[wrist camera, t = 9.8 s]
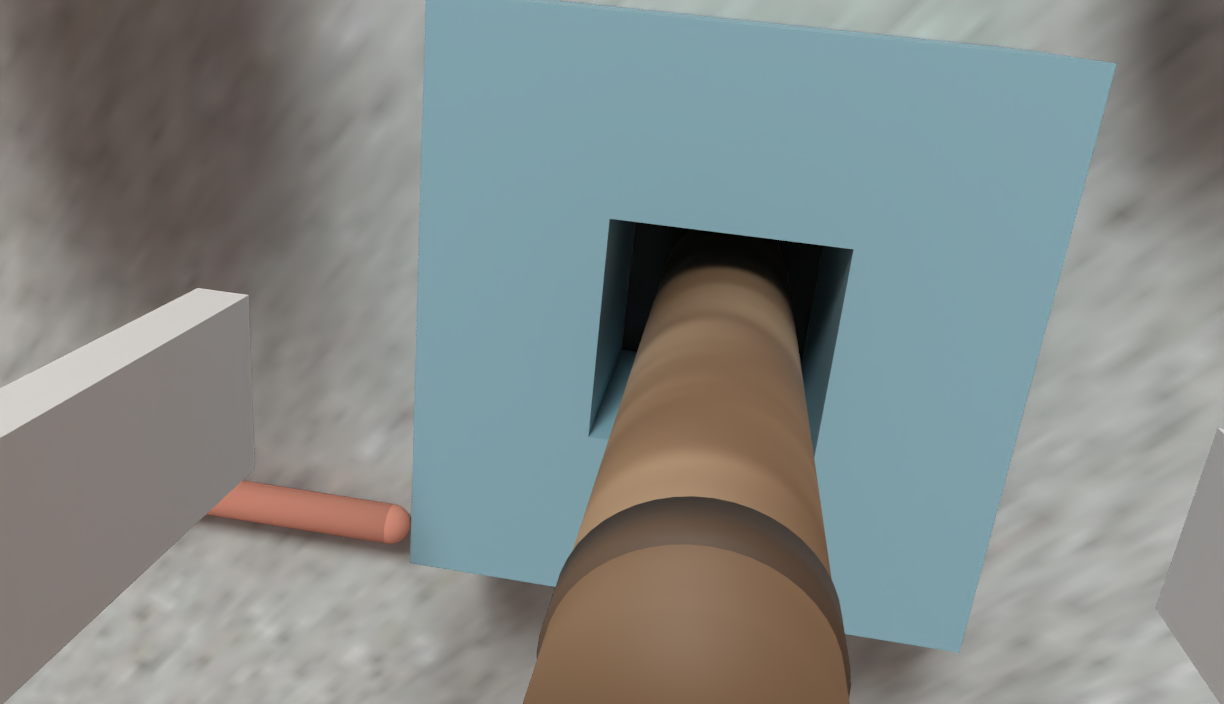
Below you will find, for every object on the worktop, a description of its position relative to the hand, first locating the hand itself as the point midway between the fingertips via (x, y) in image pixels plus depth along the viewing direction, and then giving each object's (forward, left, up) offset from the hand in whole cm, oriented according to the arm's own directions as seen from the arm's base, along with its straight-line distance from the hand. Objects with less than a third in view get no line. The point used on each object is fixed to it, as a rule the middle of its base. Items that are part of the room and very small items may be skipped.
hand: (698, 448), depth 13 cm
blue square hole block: (0, 0, -9) cm, 9 cm away
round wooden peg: (0, 0, -9) cm, 9 cm away
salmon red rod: (-13, -8, -9) cm, 18 cm away
